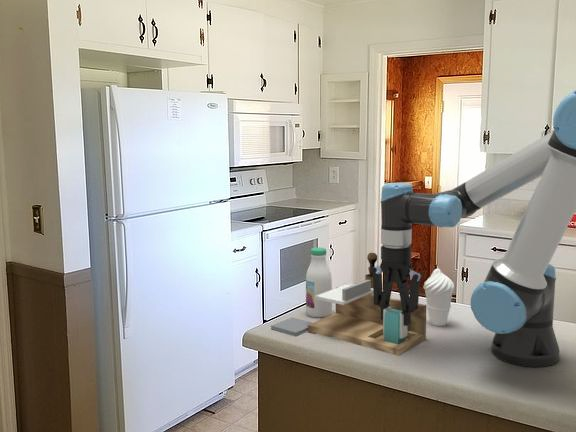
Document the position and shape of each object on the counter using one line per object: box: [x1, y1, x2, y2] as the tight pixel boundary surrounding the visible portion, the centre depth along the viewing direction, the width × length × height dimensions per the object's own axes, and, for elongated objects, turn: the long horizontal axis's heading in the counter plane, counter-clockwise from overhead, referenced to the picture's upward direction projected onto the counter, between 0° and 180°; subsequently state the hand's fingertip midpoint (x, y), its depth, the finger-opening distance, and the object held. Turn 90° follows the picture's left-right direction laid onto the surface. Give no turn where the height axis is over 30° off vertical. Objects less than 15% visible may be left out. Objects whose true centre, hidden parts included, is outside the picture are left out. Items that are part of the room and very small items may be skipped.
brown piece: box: [307, 286, 427, 357], centre depth 151 cm, size 28×14×10 cm, turn 49°
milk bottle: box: [305, 247, 333, 318], centre depth 169 cm, size 8×8×20 cm
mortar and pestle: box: [364, 252, 378, 288], centre depth 171 cm, size 7×6×18 cm
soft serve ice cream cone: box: [422, 268, 455, 327], centre depth 159 cm, size 8×8×16 cm
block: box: [384, 309, 406, 345], centre depth 145 cm, size 4×4×8 cm
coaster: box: [270, 316, 313, 337], centre depth 159 cm, size 9×9×1 cm
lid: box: [316, 279, 374, 305], centre depth 156 cm, size 9×15×11 cm, turn 139°
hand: (395, 334), depth 146 cm, fingers closed on block, 4 cm apart
